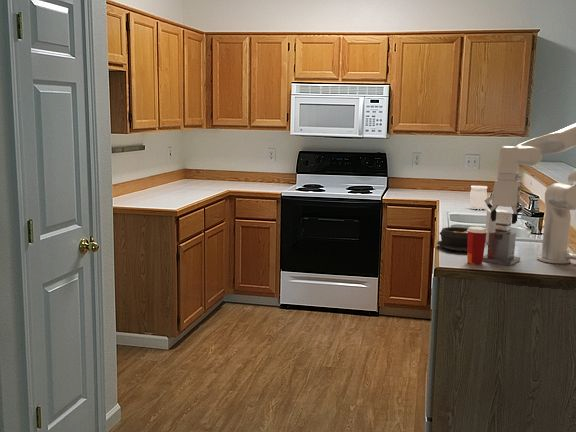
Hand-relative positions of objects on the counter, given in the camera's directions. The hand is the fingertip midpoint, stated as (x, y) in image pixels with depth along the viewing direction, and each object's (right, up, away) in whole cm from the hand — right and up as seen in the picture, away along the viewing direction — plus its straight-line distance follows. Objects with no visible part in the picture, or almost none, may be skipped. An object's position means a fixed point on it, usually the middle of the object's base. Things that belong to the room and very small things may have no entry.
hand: (503, 221), depth 249 cm
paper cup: (-12, -16, -3) cm, 21 cm away
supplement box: (+10, -10, +41) cm, 44 cm away
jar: (+36, +6, +155) cm, 159 cm away
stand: (-1, -16, +2) cm, 16 cm away
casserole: (-11, -12, +25) cm, 30 cm away
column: (0, -14, +2) cm, 14 cm away
